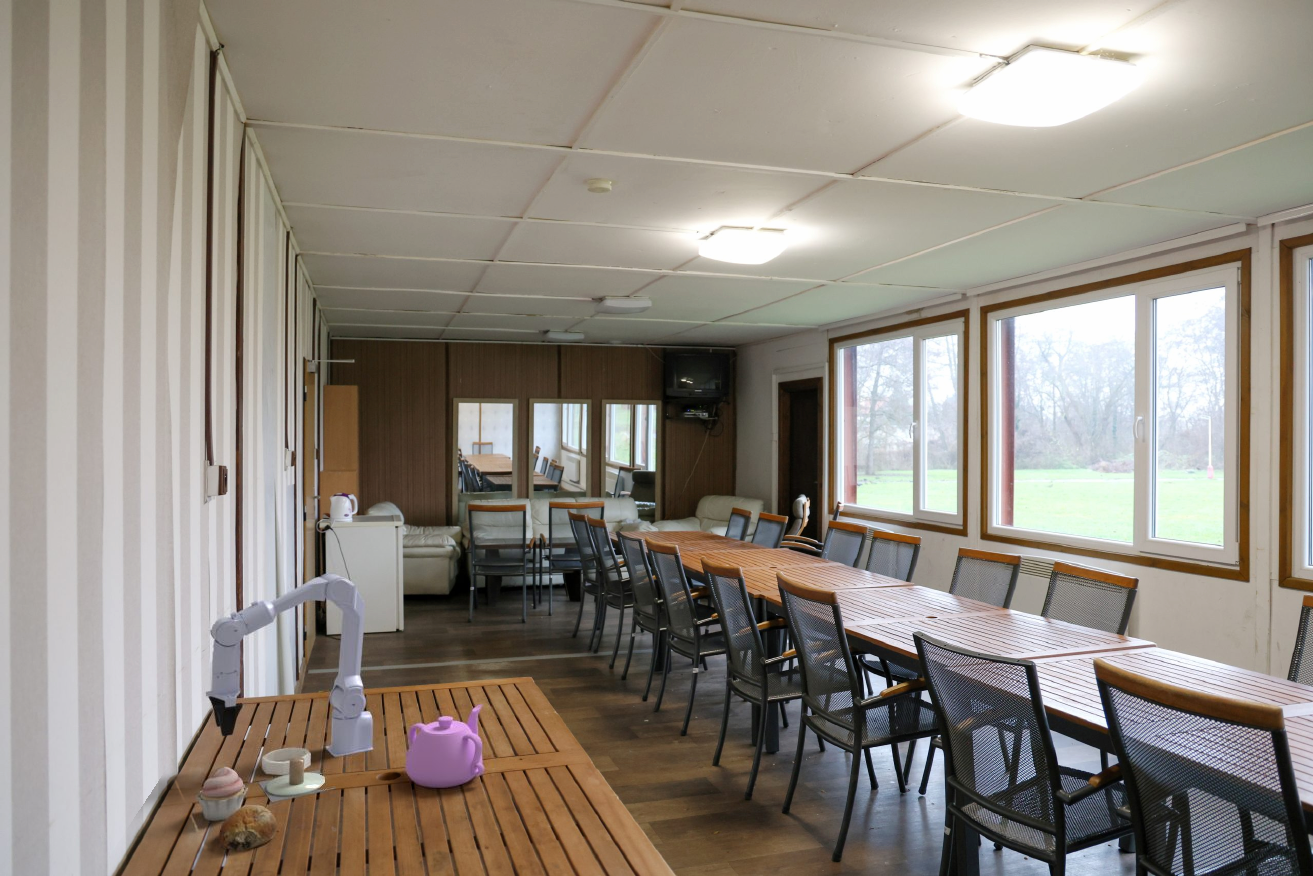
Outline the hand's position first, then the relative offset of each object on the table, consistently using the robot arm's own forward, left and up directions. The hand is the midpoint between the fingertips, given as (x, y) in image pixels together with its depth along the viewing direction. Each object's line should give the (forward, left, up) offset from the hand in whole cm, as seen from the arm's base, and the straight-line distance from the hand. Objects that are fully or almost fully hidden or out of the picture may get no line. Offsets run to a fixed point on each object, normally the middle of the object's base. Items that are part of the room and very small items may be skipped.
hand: (224, 730), depth 194 cm
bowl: (-13, +4, -10) cm, 17 cm away
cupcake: (+4, +24, -10) cm, 26 cm away
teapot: (-43, +29, -10) cm, 53 cm away
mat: (-12, +17, -10) cm, 23 cm away
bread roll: (+2, +38, -10) cm, 39 cm away
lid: (-12, +17, -10) cm, 23 cm away
